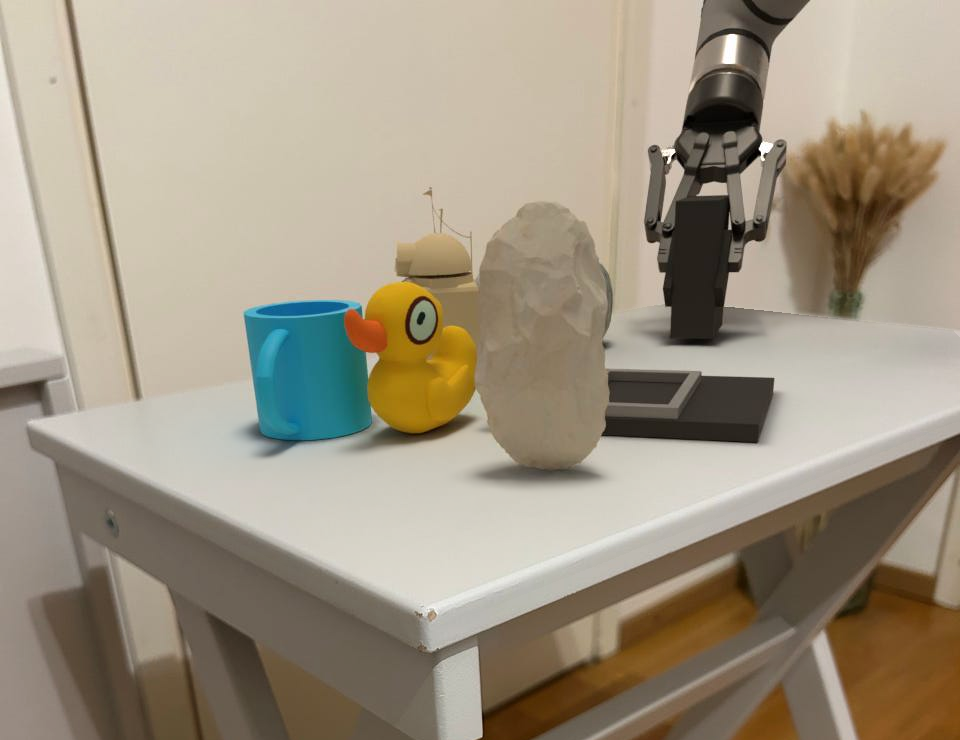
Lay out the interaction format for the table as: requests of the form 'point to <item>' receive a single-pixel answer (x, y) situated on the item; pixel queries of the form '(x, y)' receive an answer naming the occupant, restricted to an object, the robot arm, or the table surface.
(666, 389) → the base pad
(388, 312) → the duckling
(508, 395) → the stone
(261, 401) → the mug
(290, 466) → the table surface
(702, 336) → the pad block
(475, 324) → the robot
